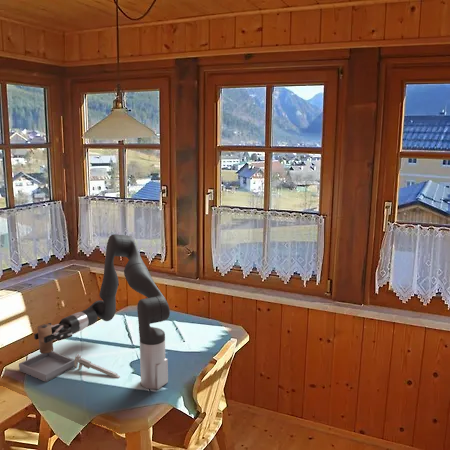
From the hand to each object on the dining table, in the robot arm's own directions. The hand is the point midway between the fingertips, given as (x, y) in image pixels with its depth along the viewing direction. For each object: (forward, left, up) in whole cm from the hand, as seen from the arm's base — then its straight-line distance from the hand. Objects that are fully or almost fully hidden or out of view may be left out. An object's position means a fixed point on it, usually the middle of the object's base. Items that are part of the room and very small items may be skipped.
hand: (39, 338), depth 183 cm
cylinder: (0, -3, -6) cm, 7 cm away
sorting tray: (0, -3, -14) cm, 14 cm away
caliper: (-19, -11, -14) cm, 26 cm away
